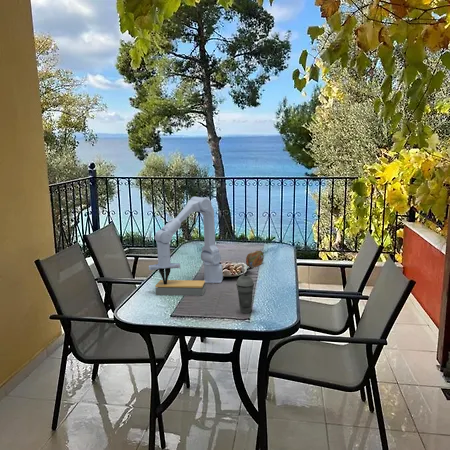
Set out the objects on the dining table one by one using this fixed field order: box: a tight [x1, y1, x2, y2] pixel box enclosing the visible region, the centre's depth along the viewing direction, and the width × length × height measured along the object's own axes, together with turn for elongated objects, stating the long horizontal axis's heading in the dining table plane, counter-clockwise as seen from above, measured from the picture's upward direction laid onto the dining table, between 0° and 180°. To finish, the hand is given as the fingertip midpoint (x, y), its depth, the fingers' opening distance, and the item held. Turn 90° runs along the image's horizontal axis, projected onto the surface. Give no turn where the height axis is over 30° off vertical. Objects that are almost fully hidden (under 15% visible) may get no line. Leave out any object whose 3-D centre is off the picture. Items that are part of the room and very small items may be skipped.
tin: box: [245, 250, 265, 269], centre depth 243 cm, size 15×3×8 cm, turn 143°
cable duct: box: [155, 283, 206, 297], centre depth 202 cm, size 22×9×4 cm, turn 84°
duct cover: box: [155, 279, 206, 288], centre depth 201 cm, size 22×9×1 cm, turn 84°
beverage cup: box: [236, 263, 255, 314], centre depth 175 cm, size 7×7×20 cm
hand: (165, 283), depth 201 cm, fingers closed, pressing on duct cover
